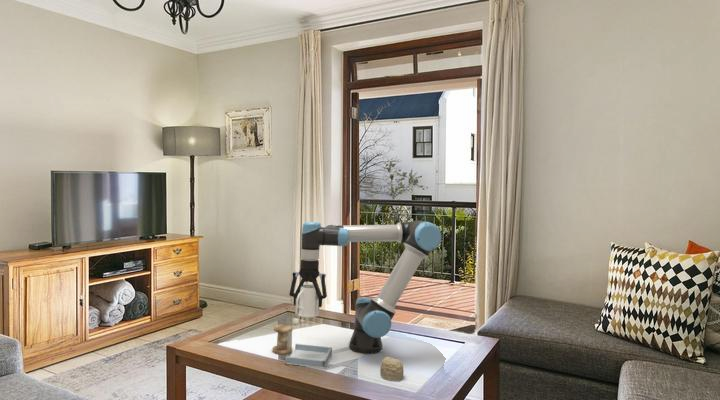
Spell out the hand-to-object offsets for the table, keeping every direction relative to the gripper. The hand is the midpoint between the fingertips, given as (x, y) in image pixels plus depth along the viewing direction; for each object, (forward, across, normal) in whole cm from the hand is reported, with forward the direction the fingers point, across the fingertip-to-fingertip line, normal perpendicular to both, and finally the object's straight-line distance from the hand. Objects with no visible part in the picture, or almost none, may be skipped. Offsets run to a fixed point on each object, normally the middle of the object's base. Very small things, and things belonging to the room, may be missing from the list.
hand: (307, 313), depth 186 cm
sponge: (+20, -36, +8) cm, 42 cm away
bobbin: (+19, +12, -6) cm, 23 cm away
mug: (+1, +1, 0) cm, 1 cm away
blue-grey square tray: (+19, -1, 0) cm, 19 cm away
